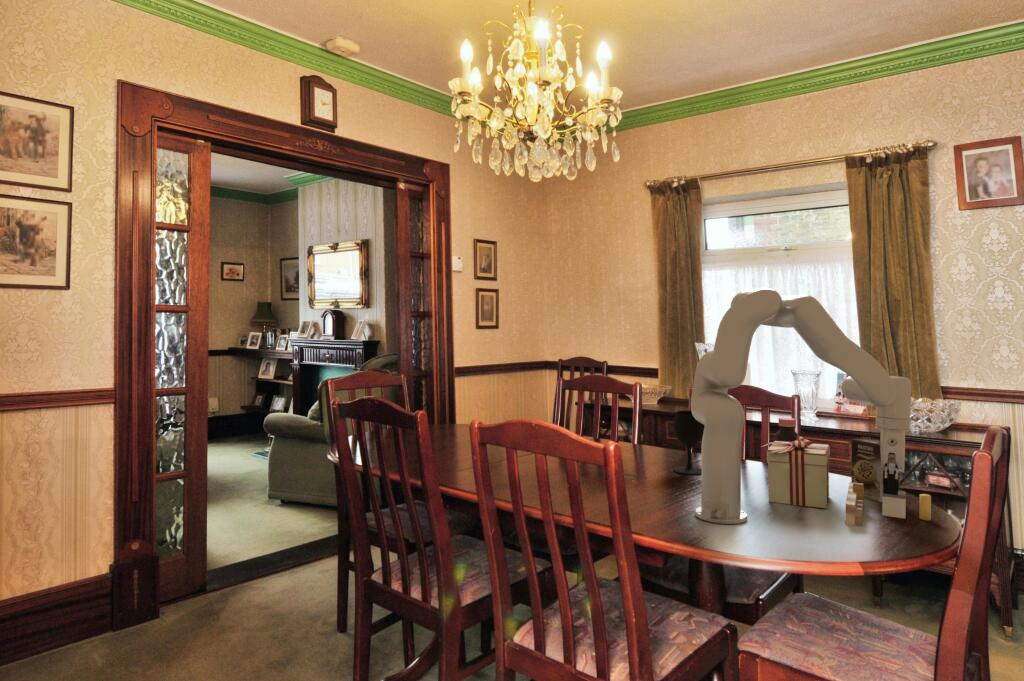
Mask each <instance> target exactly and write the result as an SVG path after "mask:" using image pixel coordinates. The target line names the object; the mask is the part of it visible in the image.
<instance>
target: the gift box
mask: <svg viewBox="0 0 1024 681" xmlns="http://www.w3.org/2000/svg"><path fill="white" fill-rule="evenodd" d="M812 442H813V441H812V440H808V439H807V438H804V437H803V436H800V435H799V436H797V439H796V441H792V442H783V441H775V440H774V441H771V442H768V443H766V444H763V445H762V446H760V448H761V449H763V448H766V447H768V446H769V447H768V448H767V449H766V462H767V465H768V467H767V469H768V471H767V472H768V473H767V474H768V475H767V476H768V477H767V478H768V503H772V504H773V503H775V504H781V505H782V504H783V505H791V506H798V507H809V508H816V509H823V510H824V509H827V507H828V504H829V502H830V498H829V497H830V481H829V480H830V479H829V478H830V475H829V474H830V473H829V472H830V468H829V465H830V464H829V463H830V462H829V459H830V455H831V449H830V448H831V446H830V444H823V443H812Z"/></svg>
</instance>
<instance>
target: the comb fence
mask: <svg viewBox="0 0 1024 681" xmlns="http://www.w3.org/2000/svg"><path fill="white" fill-rule="evenodd" d="M864 505H865V498H864V488H863V483H854V482H853V483H851V482H849V483H848V490H847V495H846V501H845V520H844V521H845V522H844V523H845V525H847V526H848V525H849V526H858V527H862V526H863V516H864V513H863V512H864Z"/></svg>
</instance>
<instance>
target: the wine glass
mask: <svg viewBox="0 0 1024 681" xmlns="http://www.w3.org/2000/svg"><path fill="white" fill-rule="evenodd" d="M672 425H673V432H674V435H675V437H676V439H677V440H678V442H680V443H681V444H682V445H683V446H684V447H686V450H687V465H686V466H679V467H674V468H673V472H674V473H677V474H679V475H684V476H685V475H686V476H700V475H701V474H702V468H699V467H695V466H692V459H691V457H692V449H693V448H694V447H695V446H697V445H698V444H699V443H700V442H702V437H703V432H704V427H705V425H703V424H701V423H700V422H698V421H697V420H696V419H695V418H694V416H693V415H692V412H691V410H678V411H676V412H675V415H674V418H673V424H672Z"/></svg>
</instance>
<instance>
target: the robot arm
mask: <svg viewBox="0 0 1024 681" xmlns="http://www.w3.org/2000/svg"><path fill="white" fill-rule="evenodd" d="M761 325H762V326H768V327H777V328H787V329H788V328H793V329H794V330H795V331H796V333H797V334H798V335H799V336H800V338H801V339H802V340H803V341H804V342H805V344H806V345H807V346H808V348H809V349H810V350H811V352H812V353H813V354H814V356H816V357H817V358H818V359H820V360H821V361H823V362H825V363H826V364H827V365H830V366H832V367H835V368H837V369H838V370H840V371H842V372H844V373H845V374H846V375H848V377H846V378H844V380H843V381H842V383H841V385H840V386H841V387H840V388H841V389H840V390H841V393H842V395H843V396H844V398H846V399H847V400H849V401H850V402H853V403H857V404H862V405H867V406H873V407H875V427H874V428H875V429H876V430H879V431H880V437H879V438H880V440H879V441H880V453H881V464H882V468H884V470H883V493H884V494H890V495H898V491H899V479H898V478H899V476H898V475H899V474H898V473H899V470H901V472H904V471H905V459H906V458H905V457H906V456H905V455H906V433H908V432H911V407H912V406H911V405H912V401H911V400H912V381H911V379H910V378H908V377H906V376H897V375H889V373H888V372H887V371H886V369H885V368H884V367H883V366H882V364H881V363H880V362H879V361H878V360H877V359H876V358H874V357H873V356H872V355H871V354H870V353H869V352H867V351H866V350H865V349H863V347H860V345H858V344H857V343H856V342H854V341H852V340H851V339H850V338H848V337H847V335H846V334H845V333H844V332H843V330H842V329H841V328H840V327H839V326H838V324H837V323H836V322H835V321H834V319H833V318H832V317H831V315H830V314H829V313H828V312H827V310H826V309H825V308H824V306H823V305H822V303H820V301H819V300H818V299H816V298H815V297H813V296H812V295H809V294H798V295H789V296H788V295H787V296H785V295H781V294H779V292H778V291H777V290H775V289H774V288H773V289H772V288H769V287H759V288H754V289H749V290H747V289H746V290H743V291H740V292H738V293H737V294H735V295H734V297H733V298H732V299H731V301H730V307H729V308H728V309H727V311H726V312H725V313H724V315H723V316H722V318H721V320H720V322H719V325H718V328H717V333H716V337H715V342H714V345H713V350H710V351H708V352H706V353H704V354H703V355H702V356H701V358H700V359H699V360H698V363H697V364H696V368H695V371H694V378H693V386H692V390H691V391H692V392H691V397H690V398H691V399H690V411H691V412H692V415H693V416H694V418H695V419H696V420H697V421H698V422H700V423H701V424H703V425H705V427H704V432H703V437H702V440H701V450H700V451H701V453H700V454H701V469H702V474H701V479H700V480H701V482H700V484H701V485H700V486H701V488H700V489H701V492H700V493H701V494H700V495H701V496H700V498H701V499H700V500H701V502H700V506H698V507H696V508H695V509H694V513H695V514H694V515H695V517H696V518H698V519H700V520H703V521H706V522H710V523H715V524H721V525H735V524H738V525H739V524H742V523H745V522H746V521H747V520H748V514H747V513H746V512H745V511H744V510H742V507H741V504H742V503H741V502H742V500H741V499H742V498H741V497H742V491H741V490H742V489H741V488H742V486H741V485H742V436H743V431H744V430H743V429H744V425H745V411H744V408H743V406H742V404H741V402H740V401H739V400H738V399H737V398H735V397H734V396H732V395H730V394H728V391H729V389H735V388H738V387H739V386H741V385H742V384H743V382H744V381H745V379H746V376H747V369H748V362H749V356H750V352H751V346H752V340H753V338H754V335H755V333H756V331H757V330H758V328H759V327H760V326H761Z"/></svg>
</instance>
